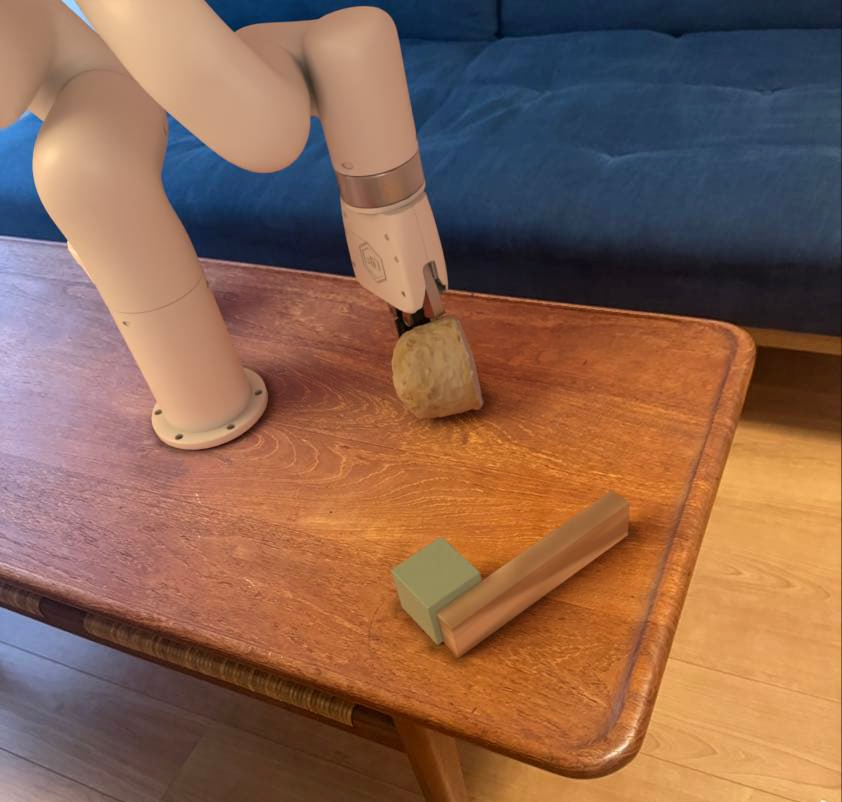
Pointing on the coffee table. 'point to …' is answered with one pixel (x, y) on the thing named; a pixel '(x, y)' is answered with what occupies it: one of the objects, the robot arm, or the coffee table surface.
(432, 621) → the block
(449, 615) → the straightedge
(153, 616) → the coffee table surface
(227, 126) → the robot arm
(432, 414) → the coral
